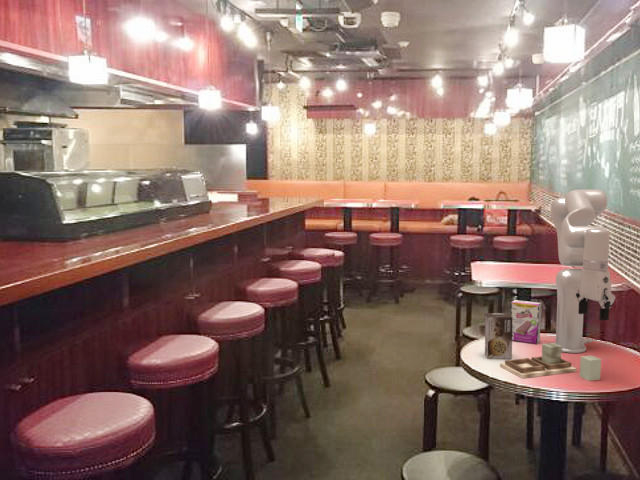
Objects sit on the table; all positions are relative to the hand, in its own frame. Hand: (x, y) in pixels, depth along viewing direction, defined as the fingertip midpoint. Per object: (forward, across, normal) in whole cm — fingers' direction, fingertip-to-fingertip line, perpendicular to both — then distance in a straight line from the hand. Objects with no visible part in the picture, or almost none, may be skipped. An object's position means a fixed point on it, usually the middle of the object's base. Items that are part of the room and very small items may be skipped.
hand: (593, 316), depth 204 cm
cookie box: (+21, +30, +16) cm, 40 cm away
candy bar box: (+21, +44, -6) cm, 50 cm away
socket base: (+21, +14, +11) cm, 27 cm away
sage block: (+21, 0, 0) cm, 21 cm away
